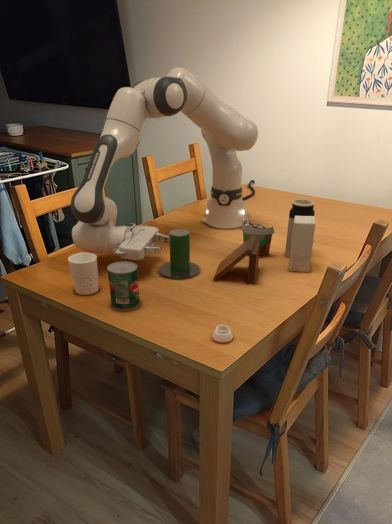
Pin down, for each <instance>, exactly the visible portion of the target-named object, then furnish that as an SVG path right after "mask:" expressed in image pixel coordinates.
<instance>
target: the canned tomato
mask: <svg viewBox="0 0 392 524" xmlns="http://www.w3.org/2000/svg"><path fill="white" fill-rule="evenodd" d="M106 269H107V276H108V277H107V278H108V286H109V294H110V306H111V308H113V309H114V310H117V311H120V312H121V311H122V312H123V311H127V312H128V311H133V310H135V309H137V308H138V307H140V305H141V301H140V300H141V299H140V298H141V297H140V286H139V285H140V284H139V273H138V265H137V263H135V262H132V261H127V260H124V261H123V260H122V261H115V262H113V263H110V264H108V266H107V267H106Z"/></svg>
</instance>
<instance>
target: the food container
mask: <svg viewBox="0 0 392 524" xmlns="http://www.w3.org/2000/svg"><path fill="white" fill-rule="evenodd" d="M240 230H241V231H242V244H243V243H244V242H245V241H246V240H248V239H249V238H250V237H251V236H252V235H254V236H255V237H256V239H255V240H260V252H259V258H261V257H266V256H269V254H270V249H271V244H272V238H273V234H275V228H274V226H271V227H267V226H264V225H262V224H260V223H259V224H258V223H252V222H249V223H248V222H246V220H244V221H243V223H242V226H241V227H240ZM249 254H250V253H249ZM249 254H248V255H247V256H249Z"/></svg>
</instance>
